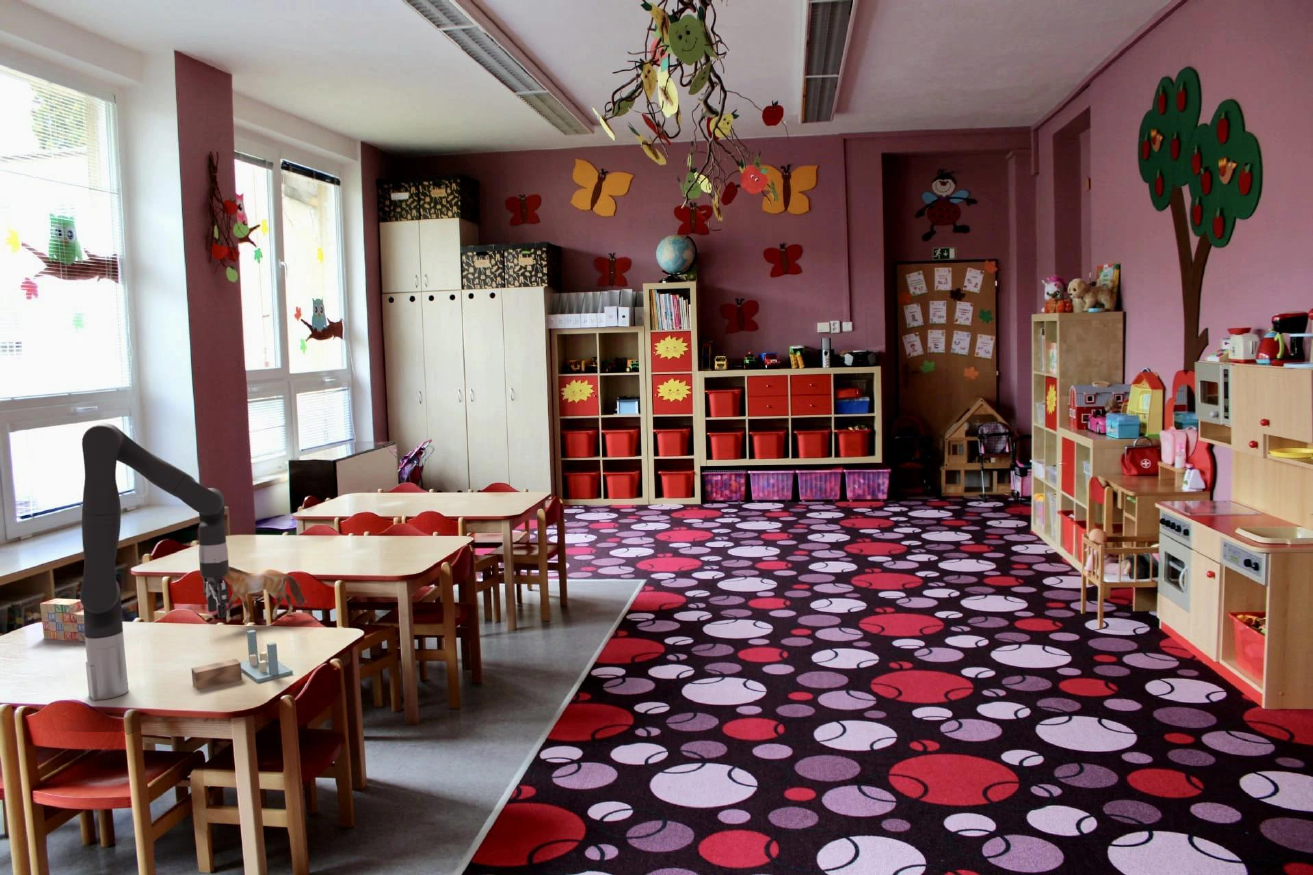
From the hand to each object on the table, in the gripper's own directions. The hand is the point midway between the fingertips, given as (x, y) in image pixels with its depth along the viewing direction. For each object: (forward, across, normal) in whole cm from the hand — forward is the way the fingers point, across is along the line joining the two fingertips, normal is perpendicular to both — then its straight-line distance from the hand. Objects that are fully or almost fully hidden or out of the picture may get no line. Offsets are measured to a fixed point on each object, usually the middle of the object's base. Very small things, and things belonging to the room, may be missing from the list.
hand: (217, 614), depth 279 cm
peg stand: (+19, +2, +11) cm, 22 cm away
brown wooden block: (+19, +2, -2) cm, 19 cm away
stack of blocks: (+20, -80, -21) cm, 85 cm away
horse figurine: (+19, -50, +29) cm, 61 cm away
